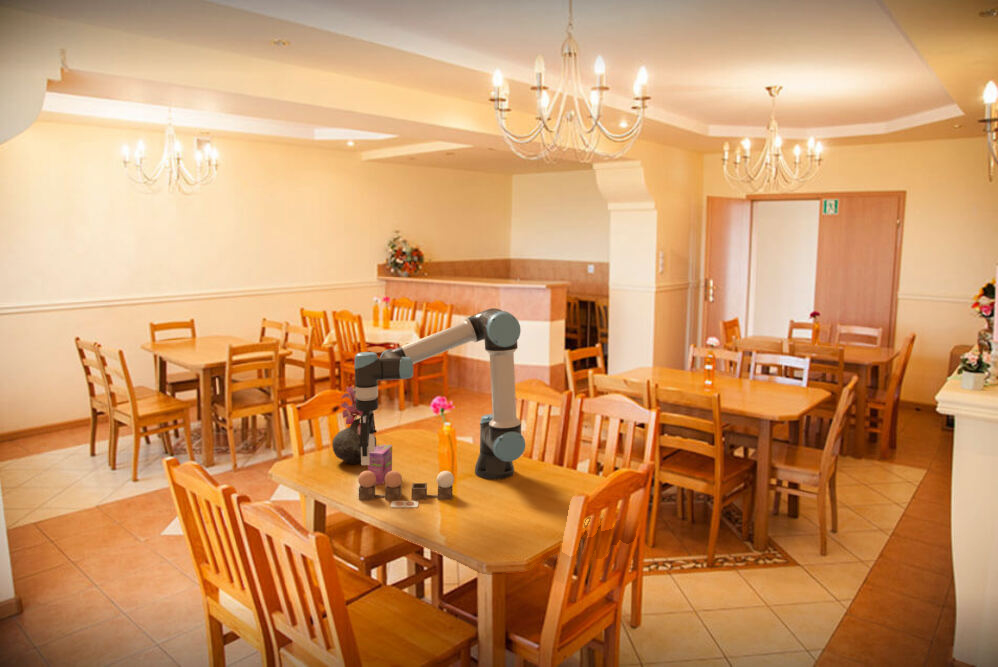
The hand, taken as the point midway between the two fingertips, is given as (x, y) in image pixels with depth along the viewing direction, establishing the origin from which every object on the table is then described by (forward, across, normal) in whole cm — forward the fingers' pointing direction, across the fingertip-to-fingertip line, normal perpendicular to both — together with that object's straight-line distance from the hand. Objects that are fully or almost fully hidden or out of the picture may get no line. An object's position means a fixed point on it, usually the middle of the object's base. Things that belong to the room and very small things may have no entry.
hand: (368, 458), depth 225 cm
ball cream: (+11, 0, +26) cm, 29 cm away
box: (+14, -17, +2) cm, 22 cm away
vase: (+14, -36, -10) cm, 40 cm away
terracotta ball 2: (+11, 0, +8) cm, 14 cm away
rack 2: (+14, 0, +22) cm, 26 cm away
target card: (+14, +7, +13) cm, 20 cm away
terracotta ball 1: (+11, 0, -1) cm, 11 cm away
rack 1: (+14, 0, +4) cm, 14 cm away
